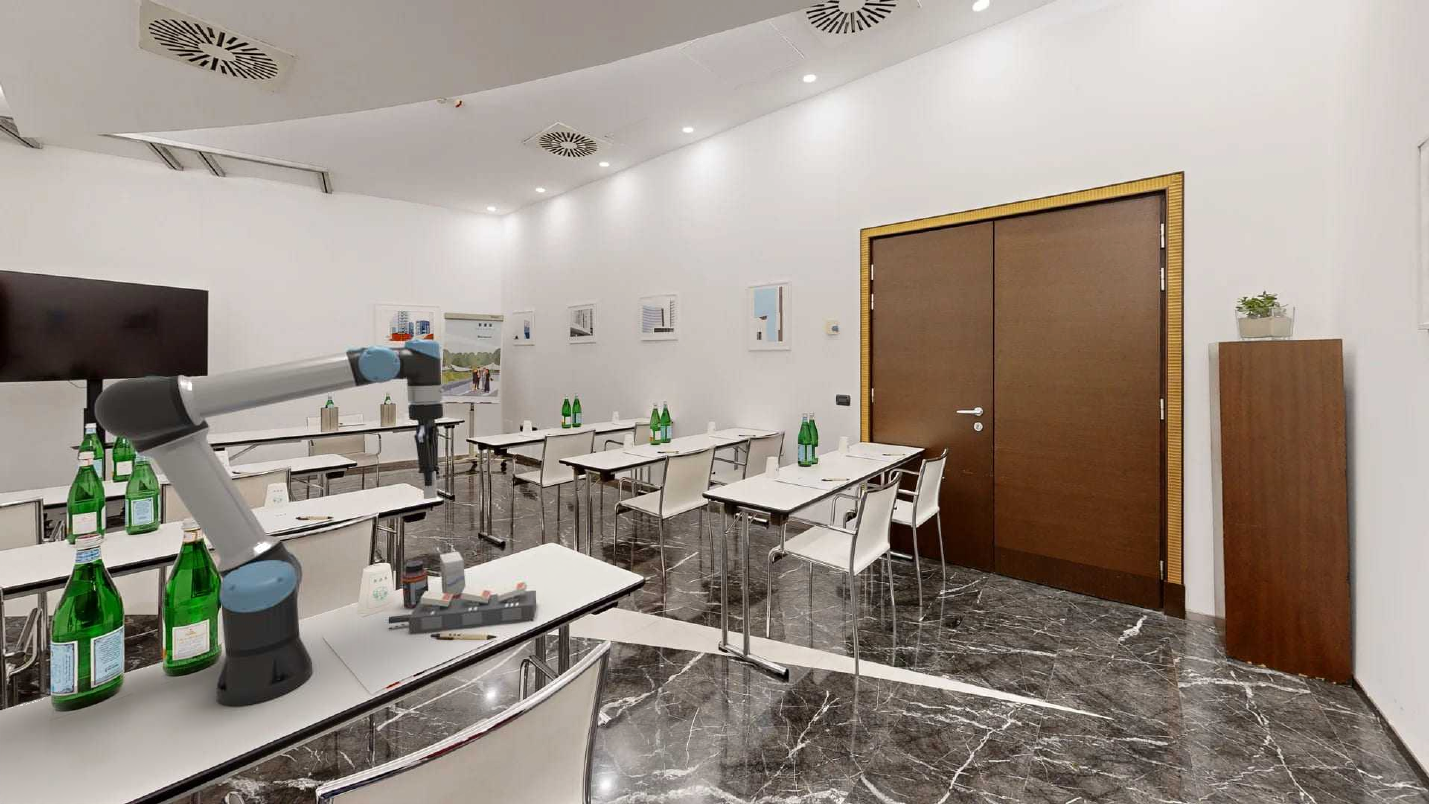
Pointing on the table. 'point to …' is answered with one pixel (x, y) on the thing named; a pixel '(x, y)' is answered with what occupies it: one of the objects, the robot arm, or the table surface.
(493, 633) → the table surface
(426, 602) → the rocker
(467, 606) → the rocker switch strip
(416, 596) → the supplement bottle
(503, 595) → the rocker
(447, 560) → the ink box
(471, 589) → the rocker
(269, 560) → the robot arm
